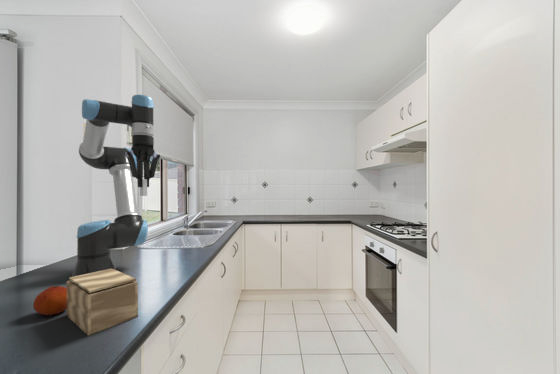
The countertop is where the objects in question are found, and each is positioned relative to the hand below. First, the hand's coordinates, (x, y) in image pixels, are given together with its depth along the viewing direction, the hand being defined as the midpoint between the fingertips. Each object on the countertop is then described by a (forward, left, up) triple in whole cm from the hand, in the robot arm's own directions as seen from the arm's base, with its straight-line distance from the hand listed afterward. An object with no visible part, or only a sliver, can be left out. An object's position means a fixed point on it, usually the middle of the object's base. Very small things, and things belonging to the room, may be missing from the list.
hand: (143, 195), depth 102 cm
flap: (+17, -20, -24) cm, 36 cm away
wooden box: (+17, -20, -34) cm, 43 cm away
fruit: (+2, -28, -35) cm, 44 cm away
